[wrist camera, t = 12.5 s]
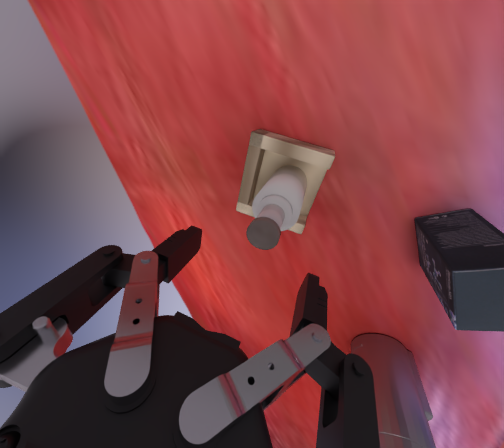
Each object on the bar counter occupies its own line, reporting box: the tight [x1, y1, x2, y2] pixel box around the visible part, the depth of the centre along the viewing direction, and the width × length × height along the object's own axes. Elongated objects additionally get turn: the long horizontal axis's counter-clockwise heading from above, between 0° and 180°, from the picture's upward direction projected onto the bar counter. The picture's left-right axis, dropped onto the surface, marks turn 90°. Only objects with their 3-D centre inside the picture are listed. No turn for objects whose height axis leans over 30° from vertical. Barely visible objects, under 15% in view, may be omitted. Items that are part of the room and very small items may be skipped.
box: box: [415, 209, 504, 331], centre depth 22 cm, size 8×6×11 cm
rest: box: [236, 129, 335, 234], centre depth 28 cm, size 10×11×4 cm
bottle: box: [247, 165, 307, 250], centre depth 23 cm, size 5×5×14 cm
